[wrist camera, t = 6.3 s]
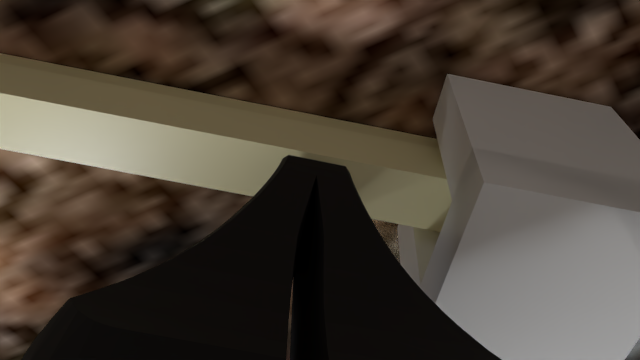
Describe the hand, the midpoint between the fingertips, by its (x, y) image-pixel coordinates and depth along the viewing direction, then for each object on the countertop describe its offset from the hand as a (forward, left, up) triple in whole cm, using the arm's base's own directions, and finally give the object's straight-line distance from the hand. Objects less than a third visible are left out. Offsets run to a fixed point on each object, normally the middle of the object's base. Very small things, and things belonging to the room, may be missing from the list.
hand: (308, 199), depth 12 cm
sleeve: (0, -5, -3) cm, 6 cm away
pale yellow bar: (0, +1, -3) cm, 3 cm away
